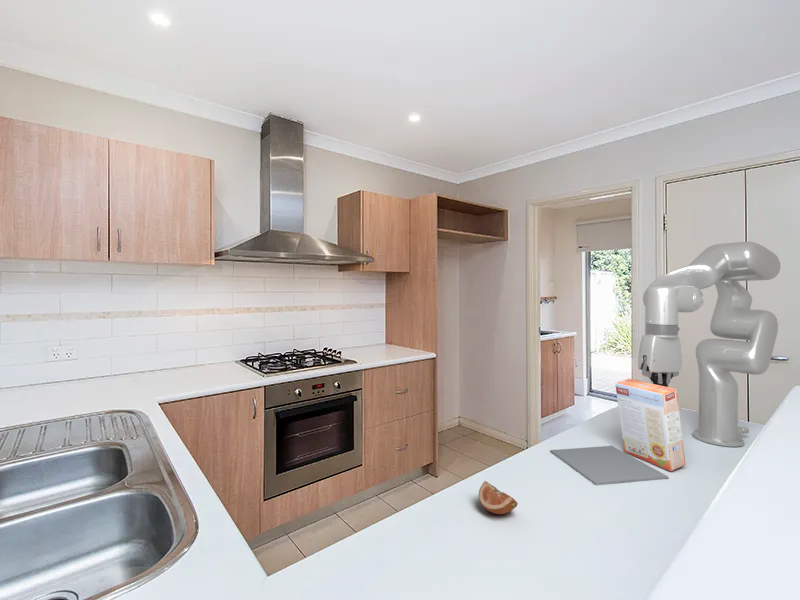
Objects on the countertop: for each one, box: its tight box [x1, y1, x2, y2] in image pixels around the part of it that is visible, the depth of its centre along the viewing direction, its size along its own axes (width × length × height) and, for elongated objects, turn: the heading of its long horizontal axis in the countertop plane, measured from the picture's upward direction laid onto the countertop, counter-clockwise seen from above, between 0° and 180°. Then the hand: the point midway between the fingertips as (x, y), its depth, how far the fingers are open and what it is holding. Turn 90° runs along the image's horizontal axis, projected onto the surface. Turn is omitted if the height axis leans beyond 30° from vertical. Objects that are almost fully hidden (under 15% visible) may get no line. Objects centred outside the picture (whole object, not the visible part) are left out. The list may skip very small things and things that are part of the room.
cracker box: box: [615, 378, 686, 472], centre depth 107 cm, size 14×6×21 cm, turn 20°
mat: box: [549, 445, 669, 486], centre depth 106 cm, size 20×20×1 cm
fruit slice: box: [478, 480, 519, 515], centre depth 82 cm, size 8×7×5 cm
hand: (660, 397), depth 108 cm, fingers closed
